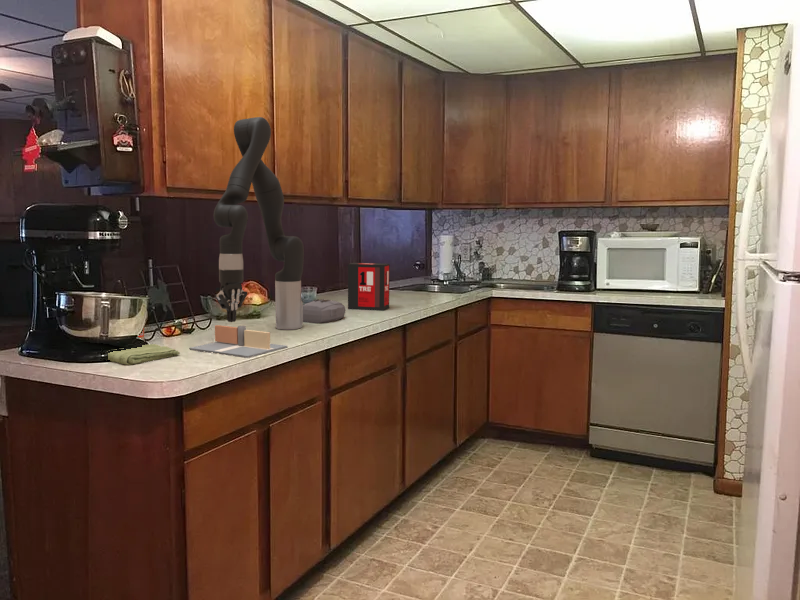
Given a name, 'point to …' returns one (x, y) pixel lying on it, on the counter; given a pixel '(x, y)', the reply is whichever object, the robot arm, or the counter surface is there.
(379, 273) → the cleaning product box
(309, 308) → the soft grey pack
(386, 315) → the counter surface
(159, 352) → the washcloth
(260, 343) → the slate board
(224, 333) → the salmon long narrow block
